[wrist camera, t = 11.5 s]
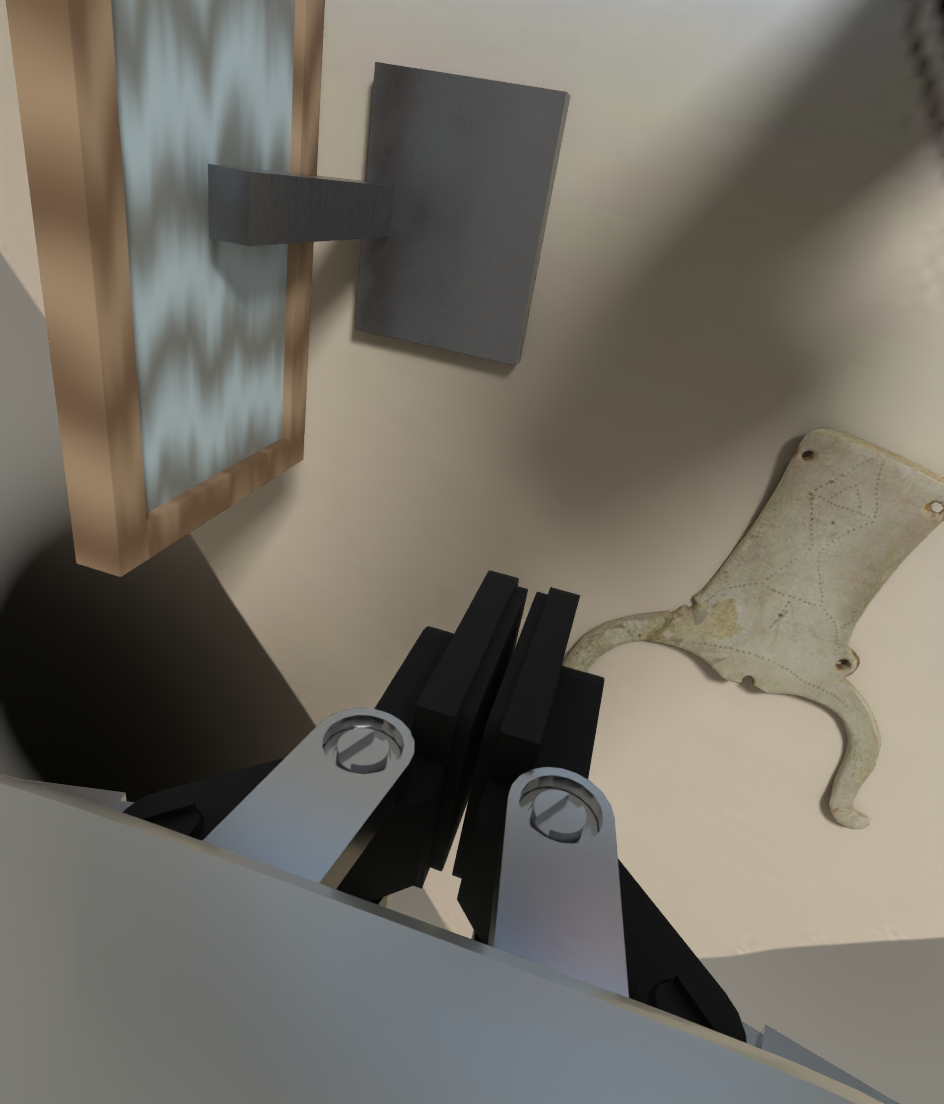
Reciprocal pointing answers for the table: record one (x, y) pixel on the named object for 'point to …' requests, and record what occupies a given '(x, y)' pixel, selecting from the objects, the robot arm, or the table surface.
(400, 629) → the table surface
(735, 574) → the decorative wall piece
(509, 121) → the frame stand
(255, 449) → the picture frame
